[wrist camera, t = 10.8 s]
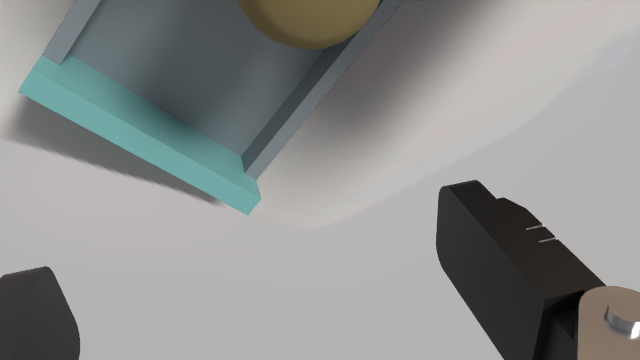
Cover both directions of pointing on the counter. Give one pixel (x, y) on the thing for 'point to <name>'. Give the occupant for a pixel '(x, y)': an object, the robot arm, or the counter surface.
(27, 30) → the counter surface
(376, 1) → the olive pawn figure
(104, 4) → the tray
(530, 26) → the counter surface
